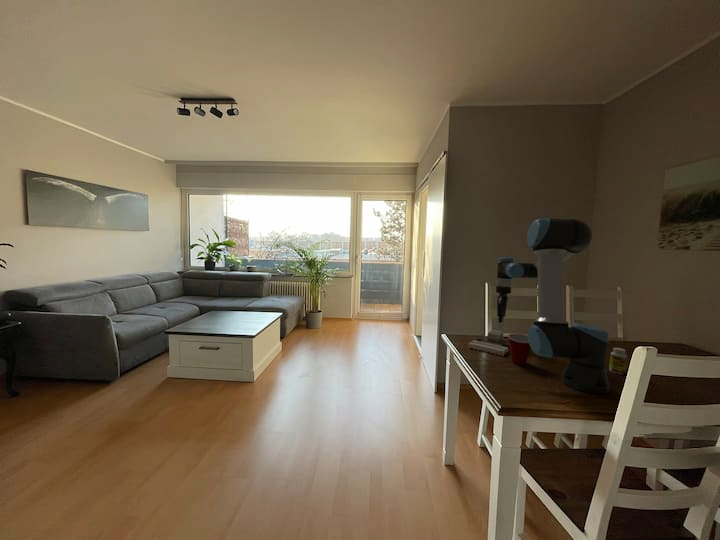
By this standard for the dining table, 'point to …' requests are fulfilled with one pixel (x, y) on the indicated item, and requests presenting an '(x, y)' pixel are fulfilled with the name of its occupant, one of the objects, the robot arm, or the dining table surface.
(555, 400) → the dining table surface
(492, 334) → the sage block
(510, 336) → the plastic cup
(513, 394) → the dining table surface
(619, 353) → the supplement bottle
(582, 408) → the dining table surface
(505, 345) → the trap deck
